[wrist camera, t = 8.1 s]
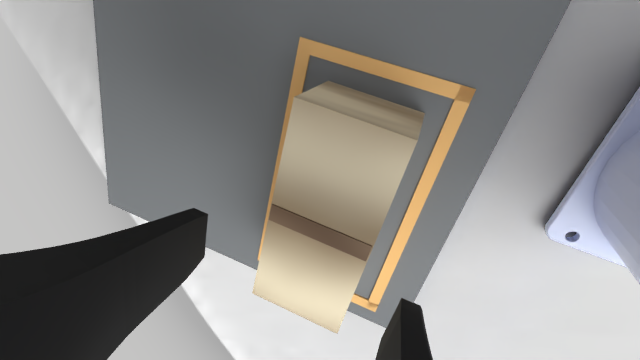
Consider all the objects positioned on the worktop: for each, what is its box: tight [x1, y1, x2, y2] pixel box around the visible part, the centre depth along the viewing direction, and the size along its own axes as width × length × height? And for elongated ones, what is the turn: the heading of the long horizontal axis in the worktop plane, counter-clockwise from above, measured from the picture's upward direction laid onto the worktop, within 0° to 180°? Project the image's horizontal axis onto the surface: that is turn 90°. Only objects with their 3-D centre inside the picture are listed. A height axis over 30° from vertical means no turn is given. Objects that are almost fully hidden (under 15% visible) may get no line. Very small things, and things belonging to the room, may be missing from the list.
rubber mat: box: [93, 0, 571, 328], centre depth 17 cm, size 21×20×1 cm
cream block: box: [252, 81, 425, 333], centre depth 16 cm, size 10×4×4 cm, turn 165°
